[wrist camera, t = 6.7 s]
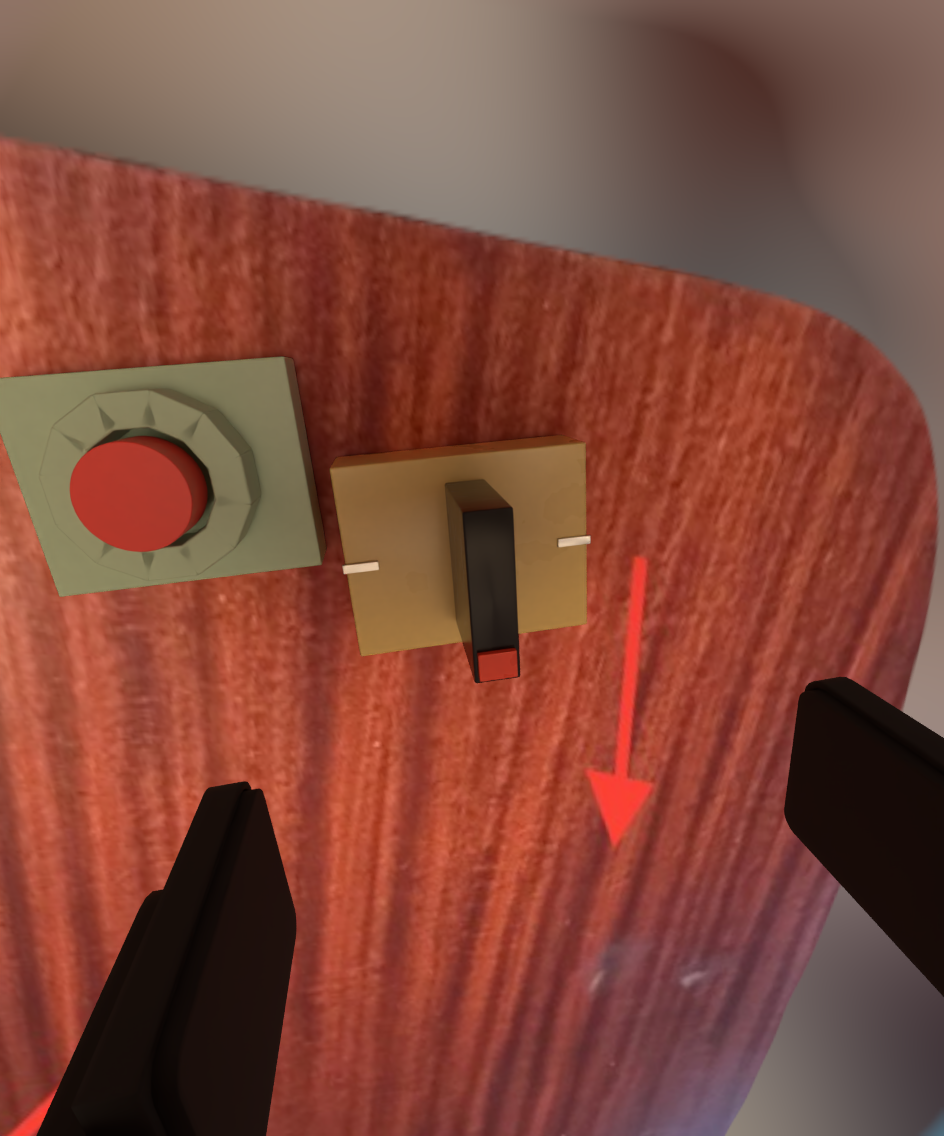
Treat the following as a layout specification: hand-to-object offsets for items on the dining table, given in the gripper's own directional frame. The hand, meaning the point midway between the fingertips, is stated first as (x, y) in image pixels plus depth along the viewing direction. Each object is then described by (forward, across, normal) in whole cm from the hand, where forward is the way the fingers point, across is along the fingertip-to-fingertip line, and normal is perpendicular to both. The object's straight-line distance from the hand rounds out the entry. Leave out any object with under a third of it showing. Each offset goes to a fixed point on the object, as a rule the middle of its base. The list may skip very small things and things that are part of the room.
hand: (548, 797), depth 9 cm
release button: (+13, +10, -4) cm, 17 cm away
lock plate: (+17, -1, 0) cm, 17 cm away
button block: (+17, +10, -4) cm, 20 cm away
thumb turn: (+14, -1, 0) cm, 14 cm away
